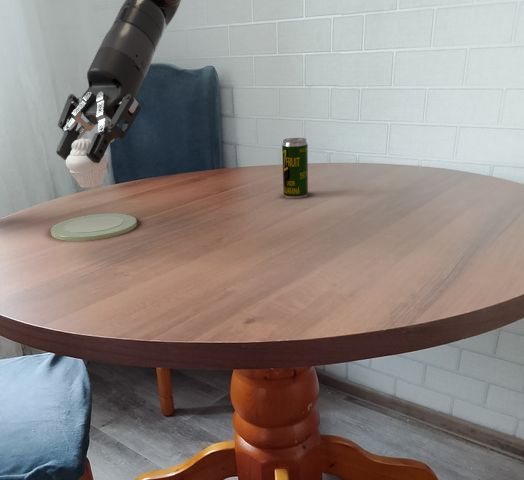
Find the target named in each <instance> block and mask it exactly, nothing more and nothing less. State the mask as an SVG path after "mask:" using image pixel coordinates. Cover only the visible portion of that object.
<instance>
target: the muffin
mask: <svg viewBox="0 0 524 480" xmlns="http://www.w3.org/2000/svg"><path fill="white" fill-rule="evenodd" d="M91 141H92V139H91V138H84V137H83V136H82V137H81V138H80V139H78V140H75V141H74V142H73V143H72V146H71V147H72V150H71V152H70V155H69V156H68V157H67V159H66V160H65V166H66V167H67V169H68V170H69V173H70V174H71V176H72V177H73V178H74V180H75V181H76V182H77V184H78V185H79V186H80V187H81V188H96V187H100V186H102V185H103V183H104V180H105V177H106V173H107V170H108V167H107V166H108V163H109V160H108V157H107V156H106V154H104V156H103V157H102V159H101V161H100V162H99V163H94V162H92V161H91V160H90V159H89V158H88V157H87V156H86V152H87V150H88V148H89V146H90V144H91Z"/></svg>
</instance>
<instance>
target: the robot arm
mask: <svg viewBox="0 0 524 480" xmlns="http://www.w3.org/2000/svg"><path fill="white" fill-rule="evenodd" d="M181 2H182V0H124V2H123V3H122V5H121V7H120V9H119V11H118V13H117V15H116V17H115V18H114V21H113V23H112V25H111V27H110V28H109V30H108V31H107V32H106V34H105V36H104V38H103V39H102V41H101V43H100V45H99V47H98V50H97V51H96V54H95V56H94V57H93V59H92V61H91V64H90V66H89V67H88V70H87V73H86V78H87V79H86V80H87V83H88V88H87V89H86V91H85V92H84V93H83V94H82V96H80V97H77V96H76V95H74V93H70V94H69V95H68V96H67V99H66V100H65V101H66V102H65V104H64V107H63V109H62V112H61V115H60V118H59V119H58V122H57V127H58V128H59V129H61V130H62V131H63V135H62V137H61V139H60V142H59V143H58V146H57V148H56V155H57V156H59V157H60V158H61V159H63V160H64V161H66V159H67V157H68V156H69V155H70V152H71V150H72V147H71V146H72V143H73V142H74V141H75V140H78V139H81V138H82V137H83V135H85V133H86V132H91V131H92V130H93V129H94V128H95V127H96V126H97V132H95V133H94V135H93V138H92V139H91V140H92V141H91V144H90V146H89V148H88V150H87V152H86V156H87V157H88V158H89V159H90V160H91V161H92V162H94V163H99V162H100V161H101V159H102V157H103V156H104V155H106V154H105V153H106V152H107V150H108V147H109V145H110V143H114V142H115V139H119V140H120V141H121V140H123V139H124V138H125V137H126V135H127V134H128V132H129V130H130V129H131V127H132V126H133V123H135V120H136V118H137V117H138V115H139V113H140V111H141V110H142V106H141V105H140V103H139V102H138V101H137V100H136V97H137V95H138V93H139V91H140V89H141V86H142V85H143V82H144V80H145V78H146V77H147V73H148V72H149V70H150V67H151V65H152V61H153V57H154V55H155V52H156V50H157V48H158V46H159V44H160V42H161V39H162V37H163V35H164V31H165V30H166V29H167V28H168V26H169V25H170V23H171V21H173V18H174V17H175V16H176V13H177V11H178V10H179V7H180V5H181ZM82 115H83V117H84V118H85V119H86V120H87V121H86V120H84V118H82ZM120 122H122V125H121V126H120V127H119V124H120ZM79 124H80V126H79V128H78V125H79ZM77 128H78V129H77Z"/></svg>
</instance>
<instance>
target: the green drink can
mask: <svg viewBox="0 0 524 480" xmlns="http://www.w3.org/2000/svg"><path fill="white" fill-rule="evenodd" d="M308 149H309V146H308V142H307V138H305V137H289V138H283V139H282V144H281V154H282V157H281V158H282V189H283V192H282V193H283V196H284V198H286V199H293V200H294V199H297V200H298V199H304V198H306V197H307V196H308V194H309V168H308V167H309V157H308V155H309V154H308V153H309V151H308Z"/></svg>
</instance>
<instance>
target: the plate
mask: <svg viewBox="0 0 524 480" xmlns="http://www.w3.org/2000/svg"><path fill="white" fill-rule="evenodd" d="M137 225H138V222H137V218H136V217H135V216H132V215H129V214H124V213H111V212H109V213H96V214H86V215H82V216H77V217H72V218H68V219H65V220H63V221H60V222H57V223H56V224H55V225H52V227H51V228H50V233H51V234H50V235H51V236H52V237H53V238H55V239H57V240H60V241H69V242H85V241H95V240H102V239H108V238H113V237H116V236H120V235H123V234H126V233H128V232H131V231H132V230H134V229H135V228H136V227H137Z"/></svg>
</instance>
